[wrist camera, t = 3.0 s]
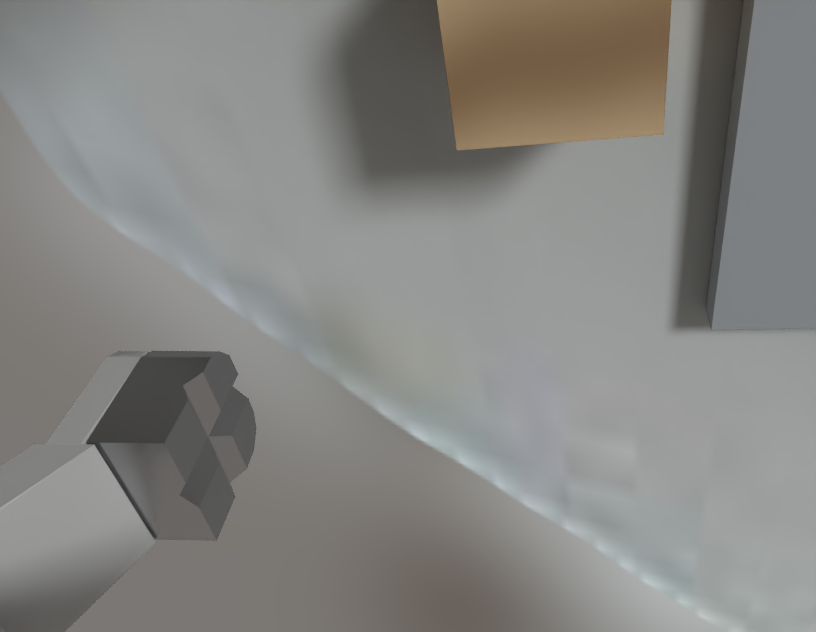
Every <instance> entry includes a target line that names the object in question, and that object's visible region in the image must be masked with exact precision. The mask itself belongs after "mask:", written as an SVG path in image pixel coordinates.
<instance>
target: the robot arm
mask: <svg viewBox="0 0 816 632" xmlns="http://www.w3.org/2000/svg"><path fill="white" fill-rule="evenodd" d="M237 375H238V373H237V371H236V369H235V366H234V364H233V362H232V360H231V358H230V356H229V355H227V354H225V353H222V352H211V351H206V352H205V351H151V352H140V351H136V352H135V351H118V352H116V353H114V354H112V355H110V356H108V357H107V358H106V359H105V360H104V362H103V363H102V365H101V366H100V367H99V369H98V370H97V372H96V373H95V375H94V376H93V377H92V379H91V380H90V381H89V383H88V384H87V386H86V387H85V389H84V390H83V391H82V393H81V394H80V396H79V397H78V398H77V400H76V401H75V403H74V404H73V405H72V407H71V408H70V410H69V411H68V412H67V414H66V416H65V417H64V418H63V420H62V421H61V423H60V424H59V425H58V427H57V428H56V430H55V431H54V432H53V434H52V435H51V437H50V438H49V439H48V441H47V442H46V443H45V444H42V443H37V444H33V445H32V446H30V447H29V448H27V449H25V450H24V451H22V452H21V453H19V454H18V455H16V456H14V457H13V458H11V459H10V460H8V461H7V462H5V463H4V464H2V465H1V466H0V632H65V631H66V630H67V629H68V628H69V627H70V626H71V625H72V624H73V623H74V622H75V621H76V620H77V619H78V618H79V617H80V616H82V615H83V613H85V612H86V611H87V610H88V609H89V608H90V607H91V606H92V605H93V604H94V603H95V602H96V601H97V600H98V599H99V598H100V597H101V596H102V595H103V594H104V593H105V592H106V591H107V590H108V589H109V588H110V587H111V586H112V585H113V584H114V583H115V582H116V581H117V580H118V579H119V578H120V577H122V576H123V575H124V574H125V572H127V571H128V569H130V568H131V567H132V566H133V565H134V564H135V563H136V562H137V561H138V560H139V559H140V558H141V557H142V556H143V555H144V554H145V553H146V552H147V551H148V550H149V549H150V548H151V547H152V546H153V545H154V544H155V543H156V541H155V540H154V539H167V540H171V539H172V540H217V539H218V536H219V534H220V532H221V529H222V527H223V524H224V522H225V520H226V517H227V515H228V513H229V510H230V508H231V505H232V503H233V501H234V498H235V495H234V492H233V489H232V487H231V484H230V482H231V481H232V480H233V479H234V478H236V477H237V476H238V475H239V474H241V473H242V472H243V471H244V470H246V468H247V467H248V464H249V461H250V459H251V456H252V454H253V451H254V444H255V435H256V424H255V417H254V412H253V409H252V407H251V404H250V402H249V399H248V398H247V397H245V396H244V395H243V394H242V393H240V392H239V391H238V390H236V389H235V388H234V387H233V384H234V381H235V380H236V377H237Z"/></svg>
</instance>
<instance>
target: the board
mask: <svg viewBox="0 0 816 632" xmlns="http://www.w3.org/2000/svg"><path fill="white" fill-rule="evenodd" d="M706 310H707V314H708V318H709V322H710V327H711V330H747V329H798V328H816V0H744V2H743V10H742V18H741V26H740V34H739V43H738V51H737V59H736V67H735V75H734V84H733V92H732V100H731V108H730V117H729V125H728V133H727V141H726V149H725V158H724V166H723V174H722V182H721V190H720V199H719V207H718V215H717V223H716V231H715V240H714V248H713V256H712V264H711V272H710V281H709V289H708V297H707V305H706Z"/></svg>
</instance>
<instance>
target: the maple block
mask: <svg viewBox="0 0 816 632" xmlns="http://www.w3.org/2000/svg"><path fill="white" fill-rule="evenodd" d="M437 7H438V14H439V22H440V29H441V37H442V44H443V52H444V59H445V66H446V74H447V81H448V89H449V96H450V104H451V111H452V119H453V126H454V134H455V141H456V149H457V150H469V149H482V148H495V147H508V146H521V145H534V144H547V143H560V142H573V141H586V140H599V139H612V138H625V137H638V136H651V135H663V133H664V116H665V99H666V83H667V66H668V49H669V33H670V16H671V0H437Z"/></svg>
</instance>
